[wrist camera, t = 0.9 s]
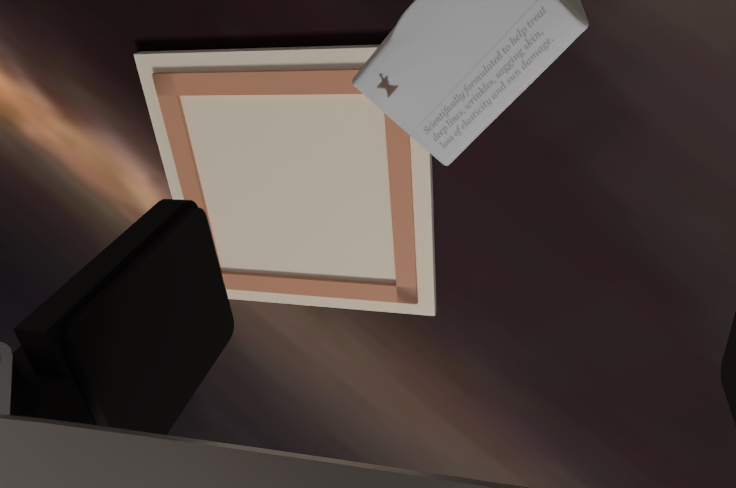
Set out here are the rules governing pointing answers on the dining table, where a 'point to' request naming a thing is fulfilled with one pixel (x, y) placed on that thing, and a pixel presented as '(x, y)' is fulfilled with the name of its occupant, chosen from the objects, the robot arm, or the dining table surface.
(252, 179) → the white square board
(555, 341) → the dining table surface
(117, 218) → the dining table surface
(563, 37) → the skincare box
